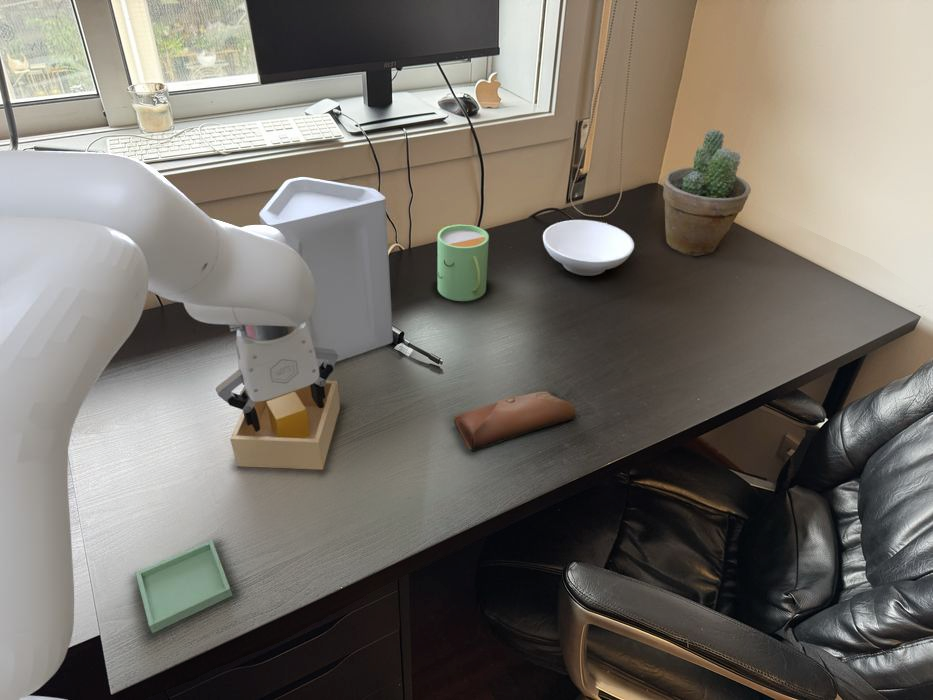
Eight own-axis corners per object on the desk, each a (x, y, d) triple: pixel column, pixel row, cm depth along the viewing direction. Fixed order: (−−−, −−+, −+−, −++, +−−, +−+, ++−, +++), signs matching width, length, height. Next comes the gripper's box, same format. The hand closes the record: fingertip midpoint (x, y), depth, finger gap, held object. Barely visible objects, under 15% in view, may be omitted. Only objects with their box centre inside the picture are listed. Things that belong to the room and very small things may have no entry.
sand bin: (322, 470, 92) (318, 442, 88) (237, 466, 92) (229, 438, 89) (340, 407, 102) (336, 380, 99) (263, 404, 103) (257, 377, 99)
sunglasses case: (547, 388, 107) (562, 373, 101) (564, 426, 105) (580, 414, 99) (449, 417, 101) (459, 403, 95) (465, 459, 98) (476, 448, 93)
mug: (428, 282, 134) (427, 230, 127) (472, 271, 138) (474, 220, 131) (454, 312, 125) (455, 258, 118) (500, 300, 129) (504, 247, 122)
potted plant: (746, 260, 146) (782, 153, 131) (673, 267, 142) (701, 158, 127) (705, 224, 160) (733, 124, 145) (637, 230, 156) (658, 128, 141)
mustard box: (281, 446, 94) (276, 419, 91) (271, 428, 97) (265, 401, 94) (310, 435, 96) (306, 409, 93) (299, 418, 99) (295, 391, 96)
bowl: (523, 256, 144) (525, 229, 140) (593, 240, 152) (597, 213, 147) (572, 298, 130) (576, 269, 126) (647, 278, 138) (653, 250, 134)
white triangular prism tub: (359, 303, 127) (347, 167, 110) (394, 341, 117) (387, 198, 100) (265, 332, 118) (237, 189, 101) (295, 376, 108) (268, 225, 91)
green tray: (152, 633, 72) (148, 626, 71) (138, 579, 77) (135, 572, 76) (232, 595, 76) (230, 588, 75) (214, 546, 81) (212, 539, 80)
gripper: (209, 353, 78) (236, 451, 88) (341, 314, 85) (351, 408, 96) (194, 323, 83) (221, 419, 93) (320, 288, 90) (331, 381, 101)
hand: (287, 413), depth 94 cm, fingers open, 9 cm apart
